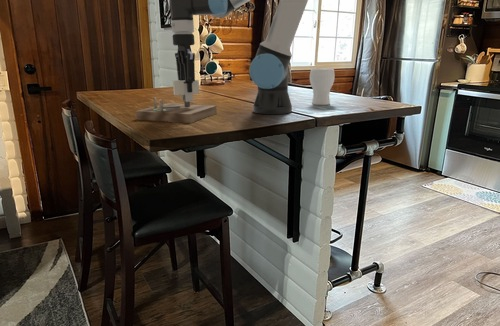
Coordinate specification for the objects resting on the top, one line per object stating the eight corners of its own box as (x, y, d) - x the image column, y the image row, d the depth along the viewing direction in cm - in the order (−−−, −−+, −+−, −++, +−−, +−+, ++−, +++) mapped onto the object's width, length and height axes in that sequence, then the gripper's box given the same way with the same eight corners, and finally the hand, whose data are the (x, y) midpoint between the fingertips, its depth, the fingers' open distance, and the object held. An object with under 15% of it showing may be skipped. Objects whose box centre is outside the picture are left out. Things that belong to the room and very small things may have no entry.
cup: (333, 105, 163) (335, 69, 159) (308, 105, 165) (309, 69, 161) (333, 102, 173) (335, 68, 169) (309, 101, 175) (310, 68, 171)
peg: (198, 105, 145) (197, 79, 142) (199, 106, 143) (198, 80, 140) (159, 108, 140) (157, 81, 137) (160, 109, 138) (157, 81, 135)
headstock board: (216, 113, 148) (215, 95, 146) (190, 123, 130) (189, 102, 128) (167, 110, 155) (166, 93, 153) (136, 119, 137) (134, 99, 135)
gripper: (165, 34, 139) (170, 99, 146) (181, 32, 126) (186, 104, 133) (184, 34, 143) (188, 97, 150) (202, 32, 130) (205, 102, 137)
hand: (187, 100), depth 142 cm, fingers closed on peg, 3 cm apart
